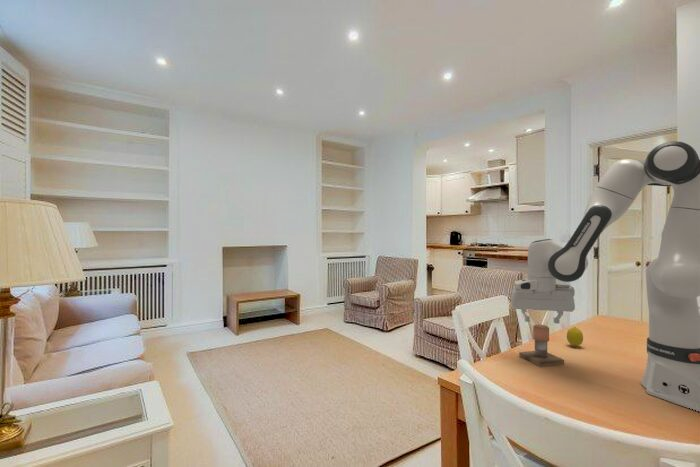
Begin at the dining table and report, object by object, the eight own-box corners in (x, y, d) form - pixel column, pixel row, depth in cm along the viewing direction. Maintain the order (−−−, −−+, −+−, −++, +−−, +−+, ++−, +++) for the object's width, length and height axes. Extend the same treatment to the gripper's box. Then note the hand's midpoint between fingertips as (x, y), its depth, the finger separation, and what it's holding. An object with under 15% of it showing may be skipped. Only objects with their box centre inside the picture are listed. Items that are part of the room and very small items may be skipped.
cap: (552, 341, 121) (552, 327, 121) (540, 342, 119) (541, 328, 119) (541, 336, 125) (541, 323, 125) (530, 337, 124) (530, 324, 124)
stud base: (564, 364, 119) (564, 342, 119) (540, 366, 116) (540, 345, 116) (541, 353, 129) (541, 334, 128) (519, 356, 126) (519, 336, 126)
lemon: (582, 350, 132) (582, 329, 132) (565, 347, 136) (566, 327, 136) (583, 346, 137) (583, 326, 137) (567, 343, 140) (567, 324, 140)
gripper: (571, 283, 122) (571, 321, 123) (509, 281, 128) (509, 318, 128) (577, 286, 116) (577, 326, 116) (512, 284, 122) (512, 322, 122)
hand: (541, 322), depth 122 cm, fingers open, 8 cm apart
